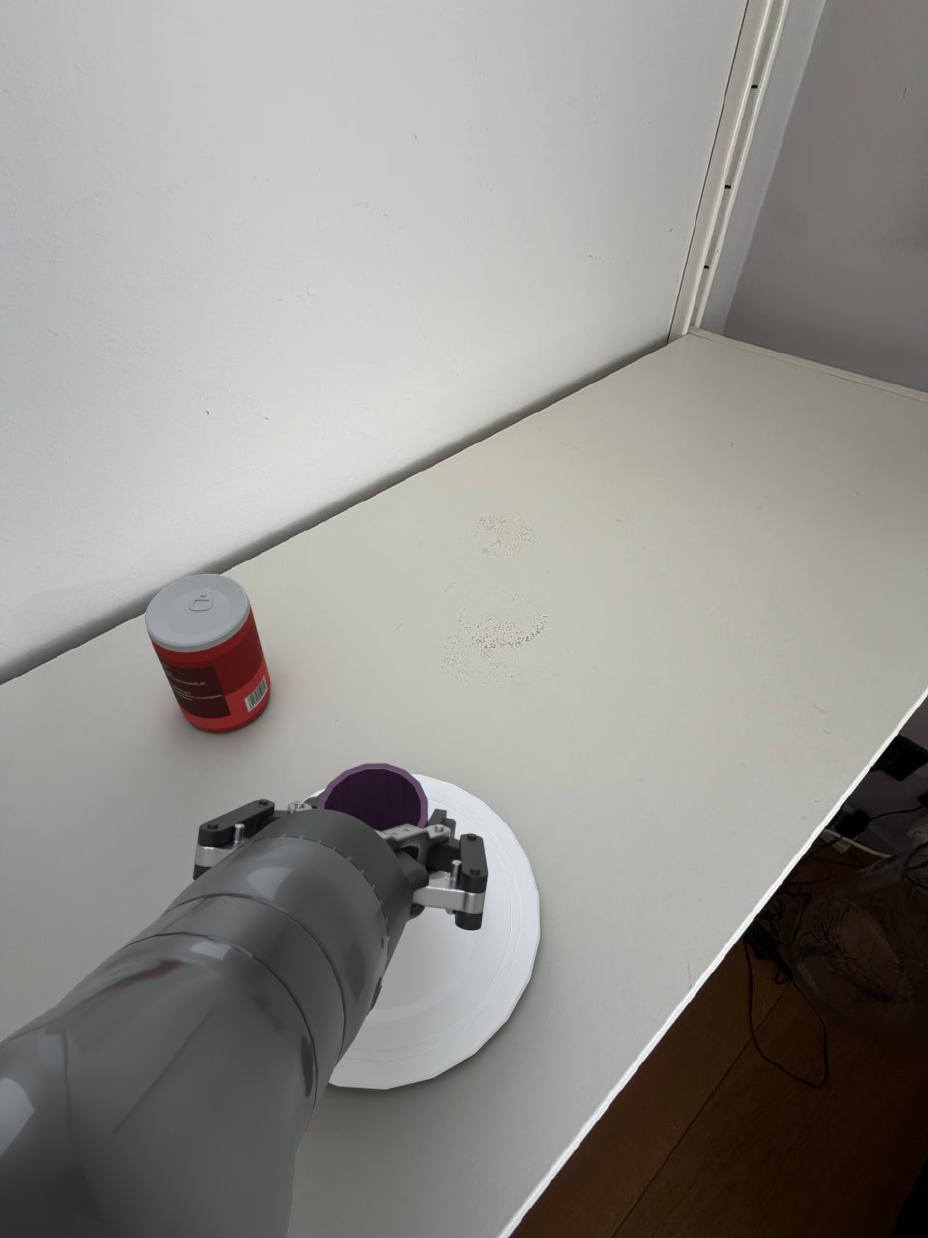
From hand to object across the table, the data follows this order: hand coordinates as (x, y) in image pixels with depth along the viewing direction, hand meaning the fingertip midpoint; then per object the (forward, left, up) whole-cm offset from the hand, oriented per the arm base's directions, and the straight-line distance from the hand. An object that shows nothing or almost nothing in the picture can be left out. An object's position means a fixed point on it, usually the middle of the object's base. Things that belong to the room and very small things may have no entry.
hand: (383, 817), depth 42 cm
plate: (-2, 0, -11) cm, 11 cm away
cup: (-2, 0, -4) cm, 5 cm away
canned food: (+8, +22, -11) cm, 26 cm away
